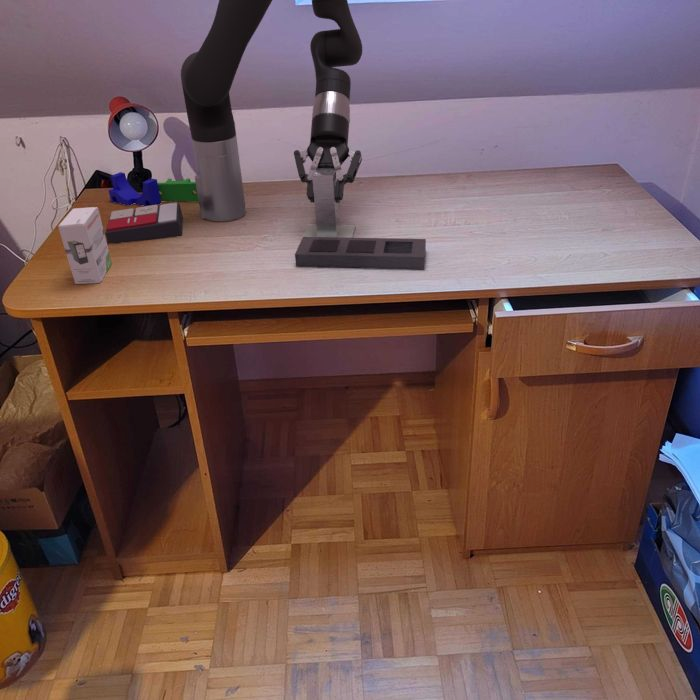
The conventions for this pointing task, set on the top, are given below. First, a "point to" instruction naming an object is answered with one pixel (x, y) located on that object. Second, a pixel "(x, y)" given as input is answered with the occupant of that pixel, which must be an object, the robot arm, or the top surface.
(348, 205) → the top surface
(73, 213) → the ink box
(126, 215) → the red grey box
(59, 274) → the top surface
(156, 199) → the cable clip
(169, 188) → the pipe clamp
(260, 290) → the top surface
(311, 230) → the mat
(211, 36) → the robot arm
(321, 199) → the steel plug
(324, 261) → the dark grey slotted tray
